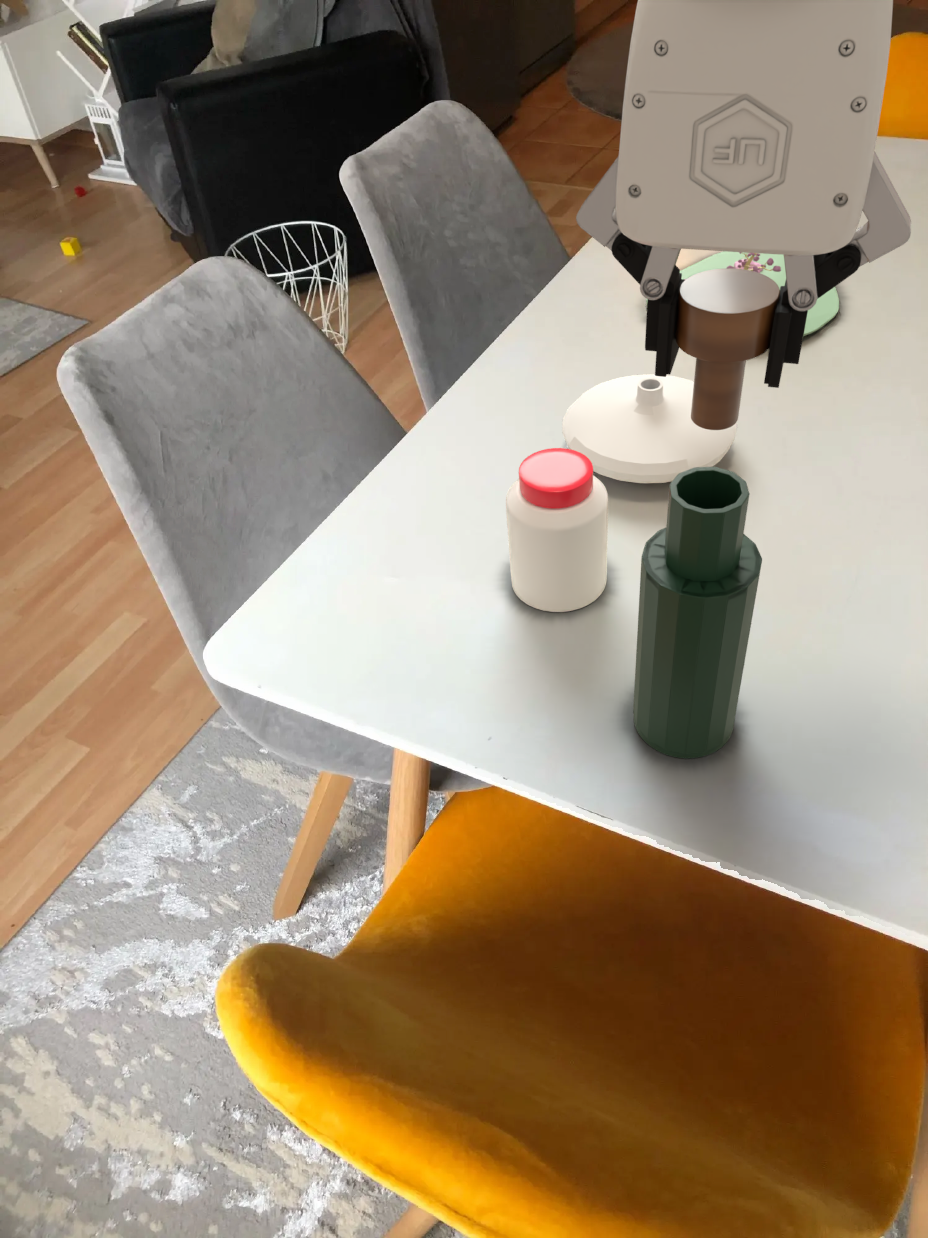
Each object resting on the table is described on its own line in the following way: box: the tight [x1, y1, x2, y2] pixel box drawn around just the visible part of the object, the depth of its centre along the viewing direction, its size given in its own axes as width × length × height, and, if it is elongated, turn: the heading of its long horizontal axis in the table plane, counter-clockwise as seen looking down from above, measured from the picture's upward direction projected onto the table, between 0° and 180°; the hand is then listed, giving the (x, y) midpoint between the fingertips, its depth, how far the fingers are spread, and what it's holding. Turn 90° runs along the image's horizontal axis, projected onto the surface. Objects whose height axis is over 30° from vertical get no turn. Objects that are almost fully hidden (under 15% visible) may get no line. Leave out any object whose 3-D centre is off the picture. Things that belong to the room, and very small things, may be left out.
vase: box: [561, 373, 739, 484], centre depth 87 cm, size 16×16×7 cm
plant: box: [645, 251, 840, 337], centre depth 106 cm, size 25×21×9 cm
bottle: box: [632, 466, 763, 759], centre depth 60 cm, size 7×7×20 cm
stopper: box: [675, 268, 780, 430], centre depth 47 cm, size 5×5×7 cm
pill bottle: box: [505, 447, 609, 613], centre depth 74 cm, size 8×8×11 cm
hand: (720, 364), depth 48 cm, fingers closed on stopper, 4 cm apart
